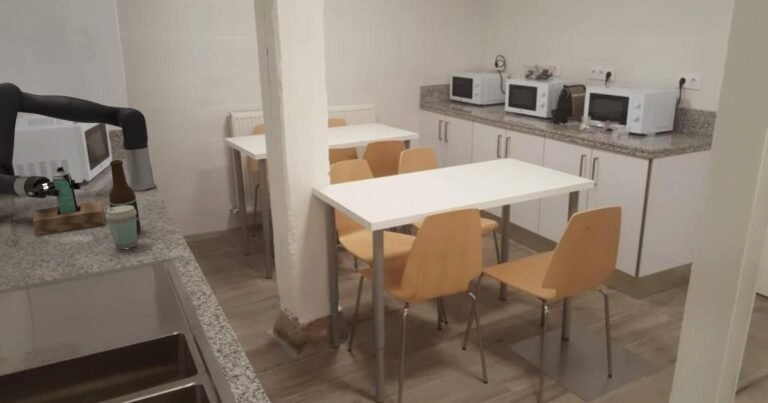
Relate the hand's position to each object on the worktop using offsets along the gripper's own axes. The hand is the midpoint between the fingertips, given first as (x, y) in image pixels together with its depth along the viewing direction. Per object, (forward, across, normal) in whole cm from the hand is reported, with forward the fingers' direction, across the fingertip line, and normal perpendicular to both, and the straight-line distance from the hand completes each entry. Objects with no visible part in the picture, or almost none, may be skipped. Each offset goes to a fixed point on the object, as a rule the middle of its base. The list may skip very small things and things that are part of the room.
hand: (69, 189), depth 189 cm
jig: (-2, 0, +12) cm, 13 cm away
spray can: (-2, 0, +13) cm, 13 cm away
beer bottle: (+24, -2, +13) cm, 27 cm away
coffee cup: (+33, -12, +13) cm, 37 cm away
